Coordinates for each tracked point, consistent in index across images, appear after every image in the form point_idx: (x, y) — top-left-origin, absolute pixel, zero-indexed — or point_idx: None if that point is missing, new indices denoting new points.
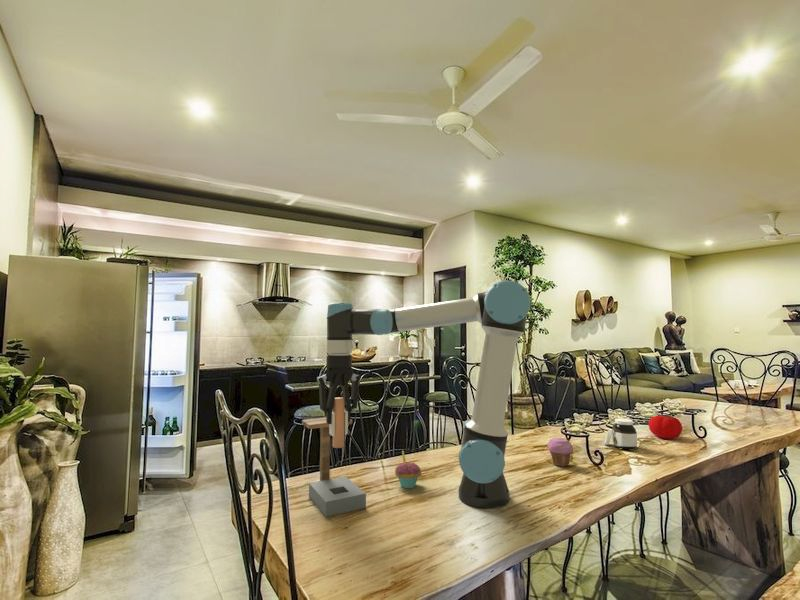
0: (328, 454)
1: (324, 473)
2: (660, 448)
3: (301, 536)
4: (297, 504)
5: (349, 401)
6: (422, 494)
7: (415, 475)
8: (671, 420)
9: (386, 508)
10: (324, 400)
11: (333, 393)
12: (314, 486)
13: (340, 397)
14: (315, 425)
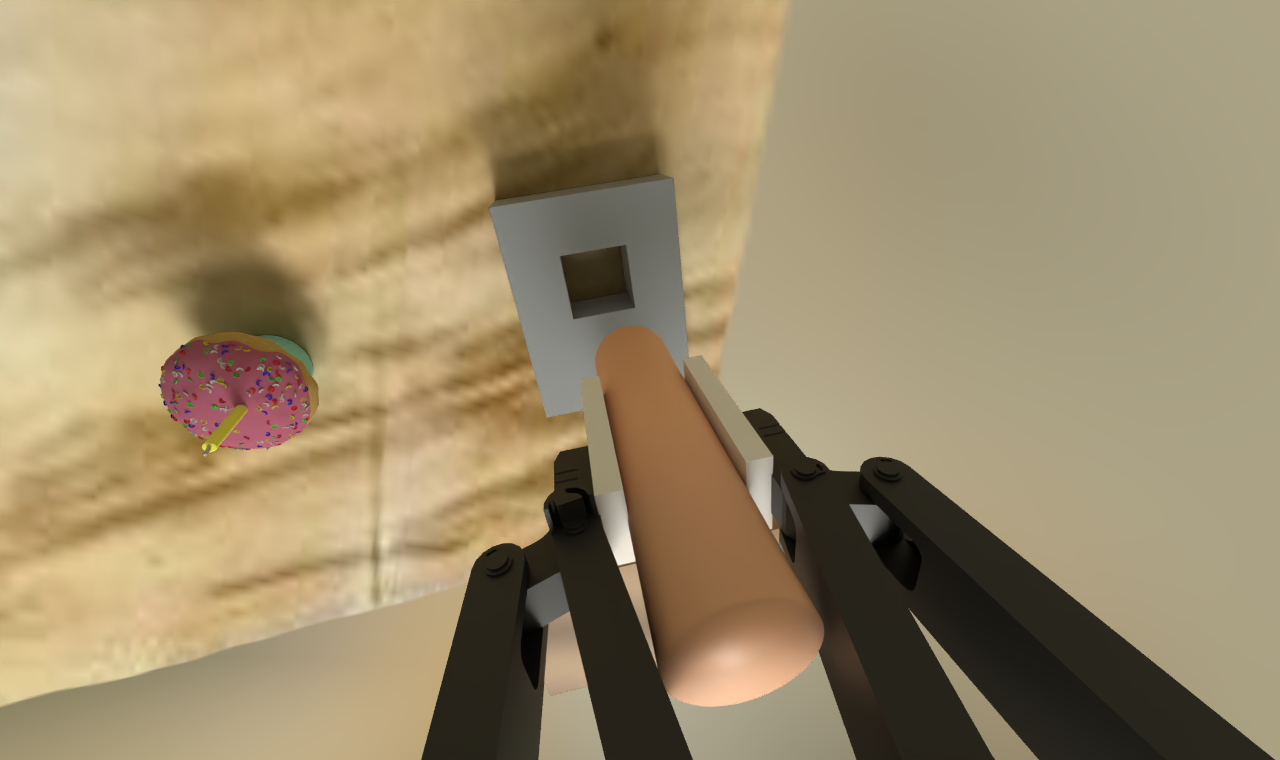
0: None
1: None
2: None
3: (772, 35)
4: (725, 315)
5: (581, 609)
6: (208, 253)
7: (201, 338)
8: None
9: (405, 162)
10: (976, 552)
11: (910, 686)
12: (680, 349)
13: (701, 697)
14: (776, 522)
